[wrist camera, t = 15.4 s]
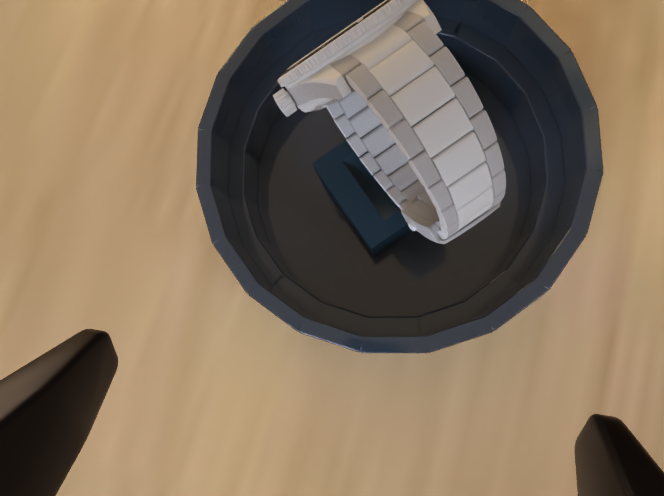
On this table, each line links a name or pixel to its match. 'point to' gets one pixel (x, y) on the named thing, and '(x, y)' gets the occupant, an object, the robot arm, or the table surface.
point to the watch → (399, 128)
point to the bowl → (414, 249)
